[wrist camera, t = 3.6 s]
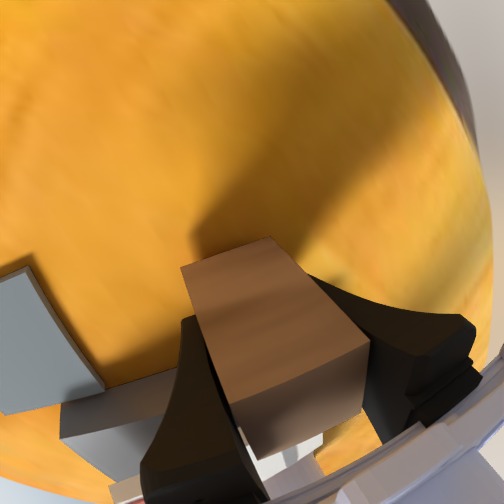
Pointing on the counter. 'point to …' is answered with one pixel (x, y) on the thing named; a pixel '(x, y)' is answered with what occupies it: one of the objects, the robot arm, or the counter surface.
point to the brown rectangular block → (277, 345)
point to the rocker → (130, 492)
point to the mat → (37, 351)
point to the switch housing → (118, 424)
